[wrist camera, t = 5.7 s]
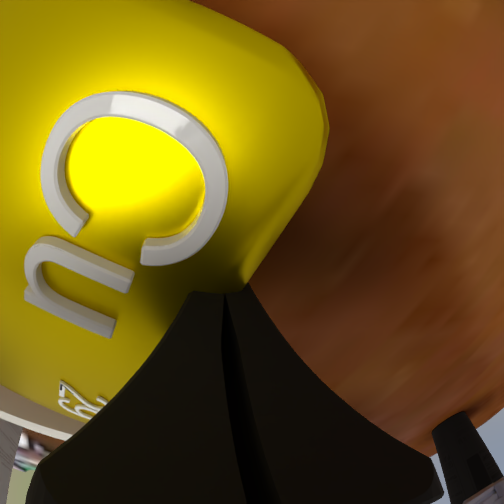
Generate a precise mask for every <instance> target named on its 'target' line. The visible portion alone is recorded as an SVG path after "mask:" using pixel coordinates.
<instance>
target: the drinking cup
mask: <svg viewBox="0 0 504 504" xmlns="http://www.w3.org/2000/svg"><path fill="white" fill-rule="evenodd" d="M432 436H433V439H434V443H435V446H436V449H437V453H438V456H439V459H440V463H441V467H442V470H443V474H444V478H445V481H446V486H447V490H448V494H449V498H450V502H451V504H463V502H464V501H465V500H466V499H468V498H470V497H471V496H473V495H474V494H476V493H478V492H479V491H481V490H482V489H484V488H486V487H487V486H489V485H491V484H492V483H495V482H496V481H498V480H499V479H501V478H502V477H504V476H503V474H502V473H501V471H500V469H499V467H498V465H497V464H496V462H495V460H494V458H493V457H492V455H491V453H490V452H489V450H488V449H487V447H486V445H485V443H484V442H483V440H482V438H481V437H480V435H479V434H478V432H477V430H476V429H475V427H474V426H473V424H472V422H471V421H470V419H469V418H468V416H467V415H466V413H465V412H460V413H458V414H456V415H454V416H452V417H450V418H449V419H447V420H445V421H444V422H443V423H441V424H440V425H439V426H437V427H436V428H435V429H434V430H433V431H432Z"/></svg>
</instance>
